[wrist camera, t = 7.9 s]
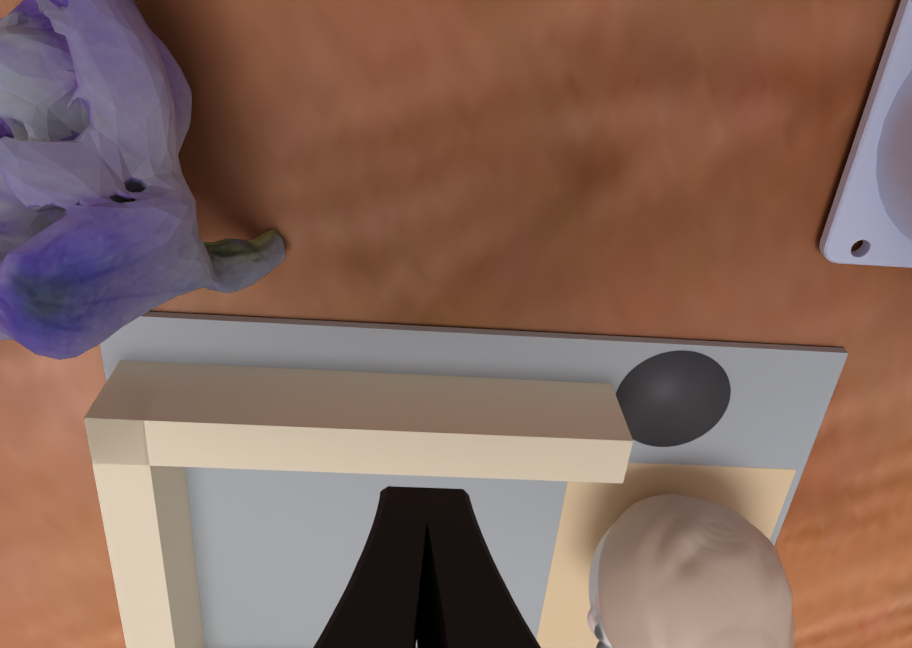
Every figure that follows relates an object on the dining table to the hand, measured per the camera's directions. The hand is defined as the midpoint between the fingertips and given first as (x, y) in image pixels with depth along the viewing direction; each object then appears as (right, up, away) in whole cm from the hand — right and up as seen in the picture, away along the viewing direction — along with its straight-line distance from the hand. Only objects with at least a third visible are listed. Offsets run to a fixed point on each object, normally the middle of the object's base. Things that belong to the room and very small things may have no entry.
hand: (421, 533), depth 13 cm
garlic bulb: (+8, -4, +14) cm, 17 cm away
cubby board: (+1, -4, +14) cm, 15 cm away
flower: (-7, +8, +7) cm, 13 cm away
